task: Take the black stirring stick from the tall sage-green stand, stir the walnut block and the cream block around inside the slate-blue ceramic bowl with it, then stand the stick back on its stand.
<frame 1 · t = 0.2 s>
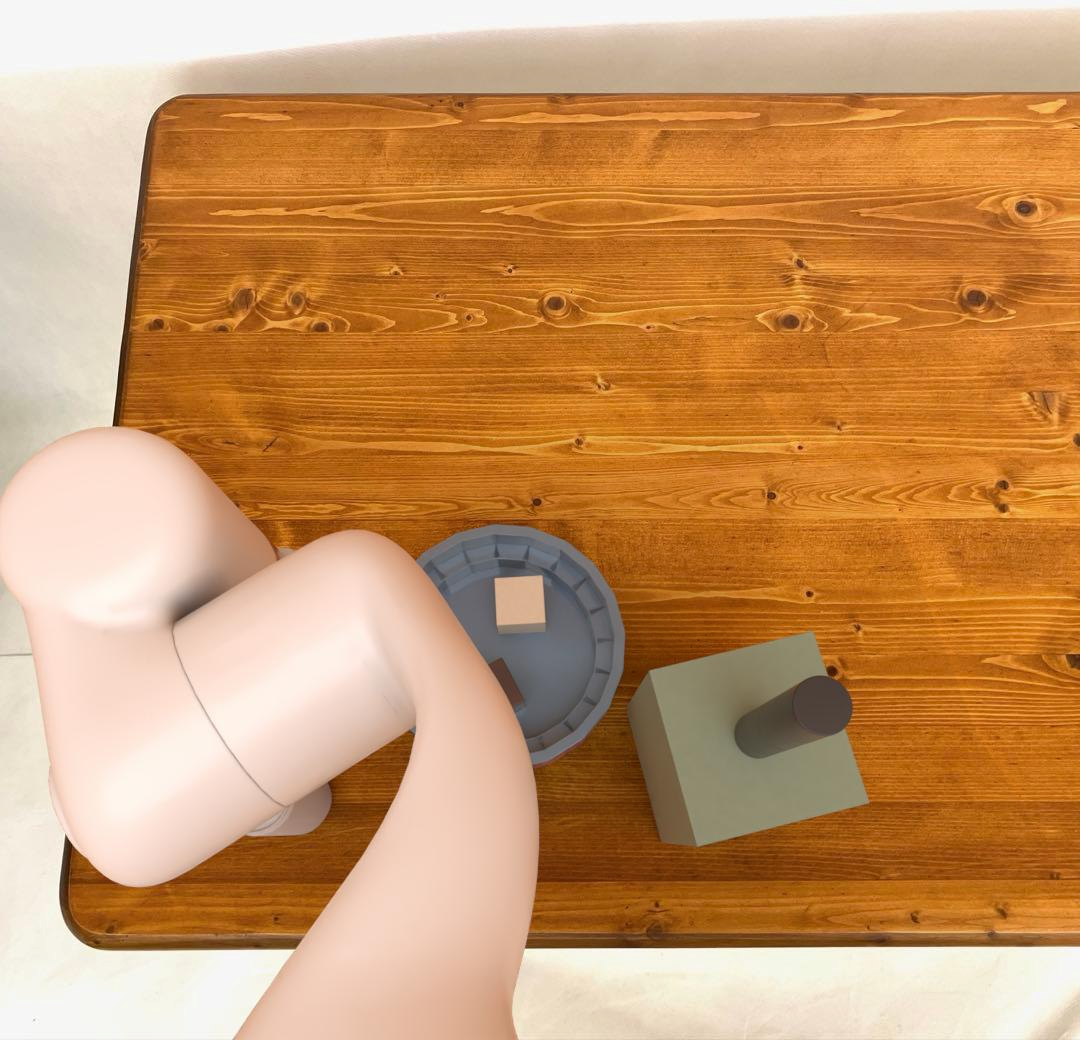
hand: (300, 661, 61), 15 cm above the table, tool pointing down, fingers open, 9 cm apart
chess piece: (431, 826, 72), on the table
stirring stick: (757, 735, 56), point 18 cm above the table, touching stand
walnut block: (493, 697, 74), point 1 cm above the table, touching bowl
beverage can: (301, 800, 72), on the table
cream block: (521, 610, 76), point 1 cm above the table, touching bowl
bowl: (504, 655, 75), on the table
stand: (707, 757, 73), on the table
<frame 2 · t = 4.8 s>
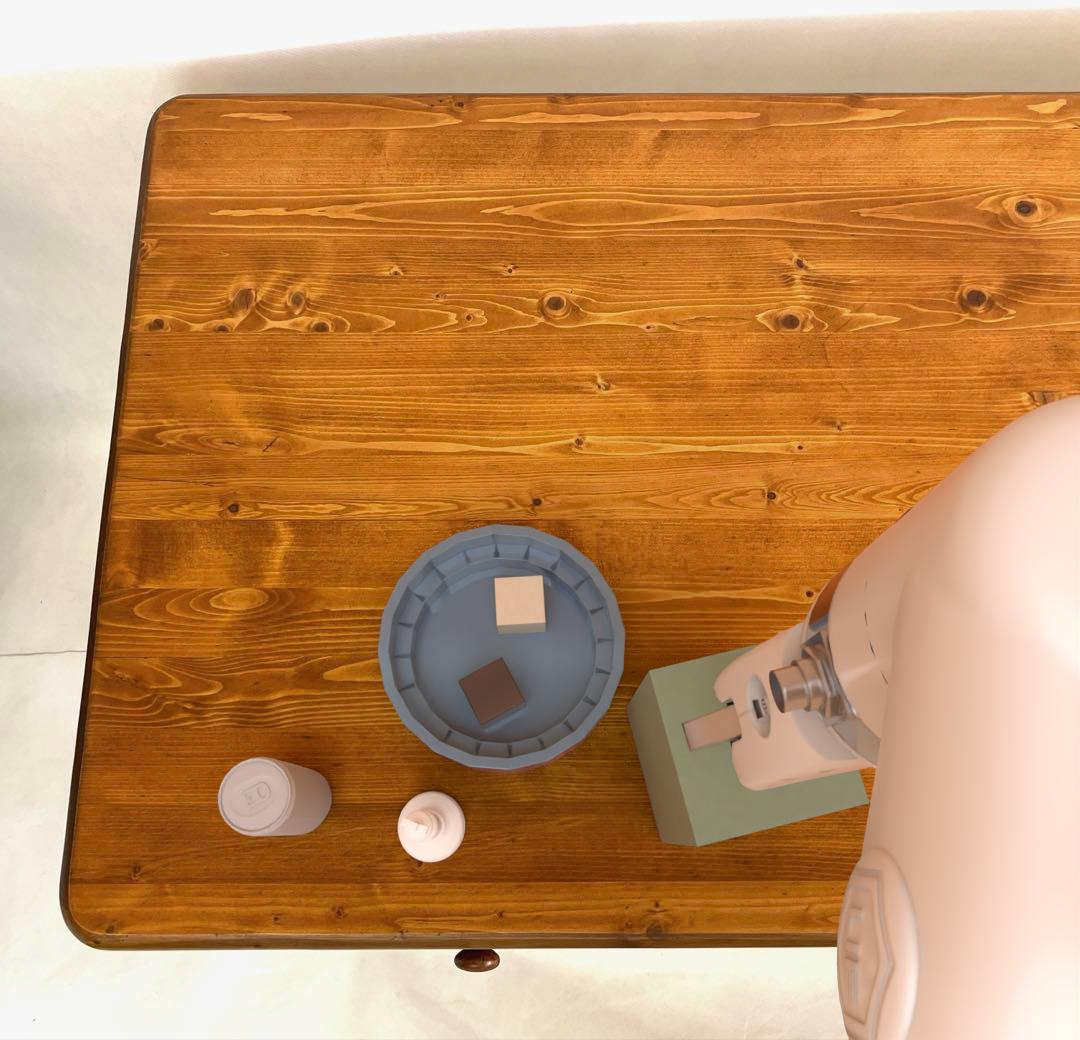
hand: (793, 718, 47), 27 cm above the table, tool pointing down, fingers closed on stirring stick, 2 cm apart
stirring stick: (757, 735, 56), point 18 cm above the table, touching gripper, stand
everything else where it was.
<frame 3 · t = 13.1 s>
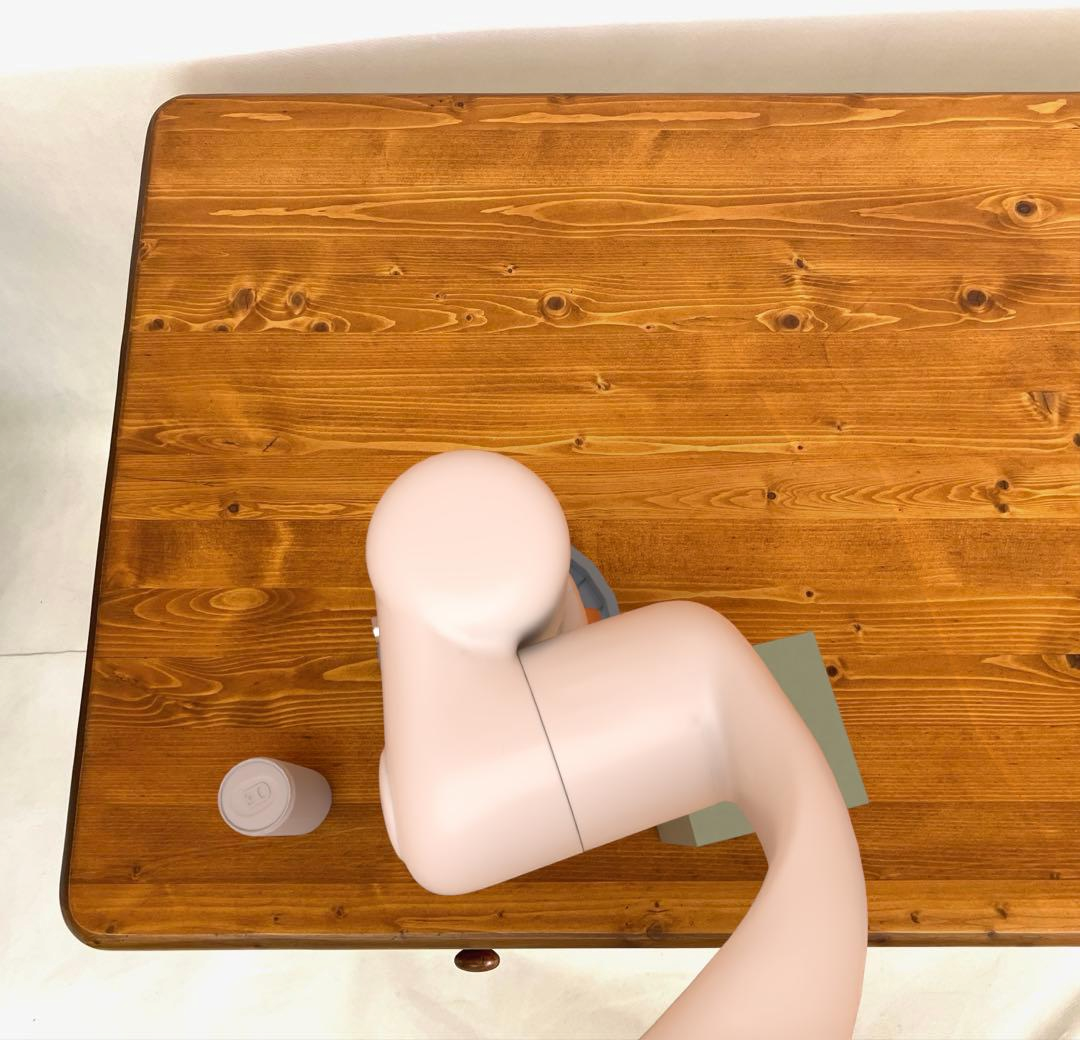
hand: (500, 662, 63), 12 cm above the table, tool pointing down, fingers closed on stirring stick, 2 cm apart
stirring stick: (501, 665, 72), point 3 cm above the table, tilted 6°, touching gripper, walnut block
walnut block: (517, 708, 73), point 1 cm above the table, tilted 6°, touching bowl, stirring stick
everything else where it was.
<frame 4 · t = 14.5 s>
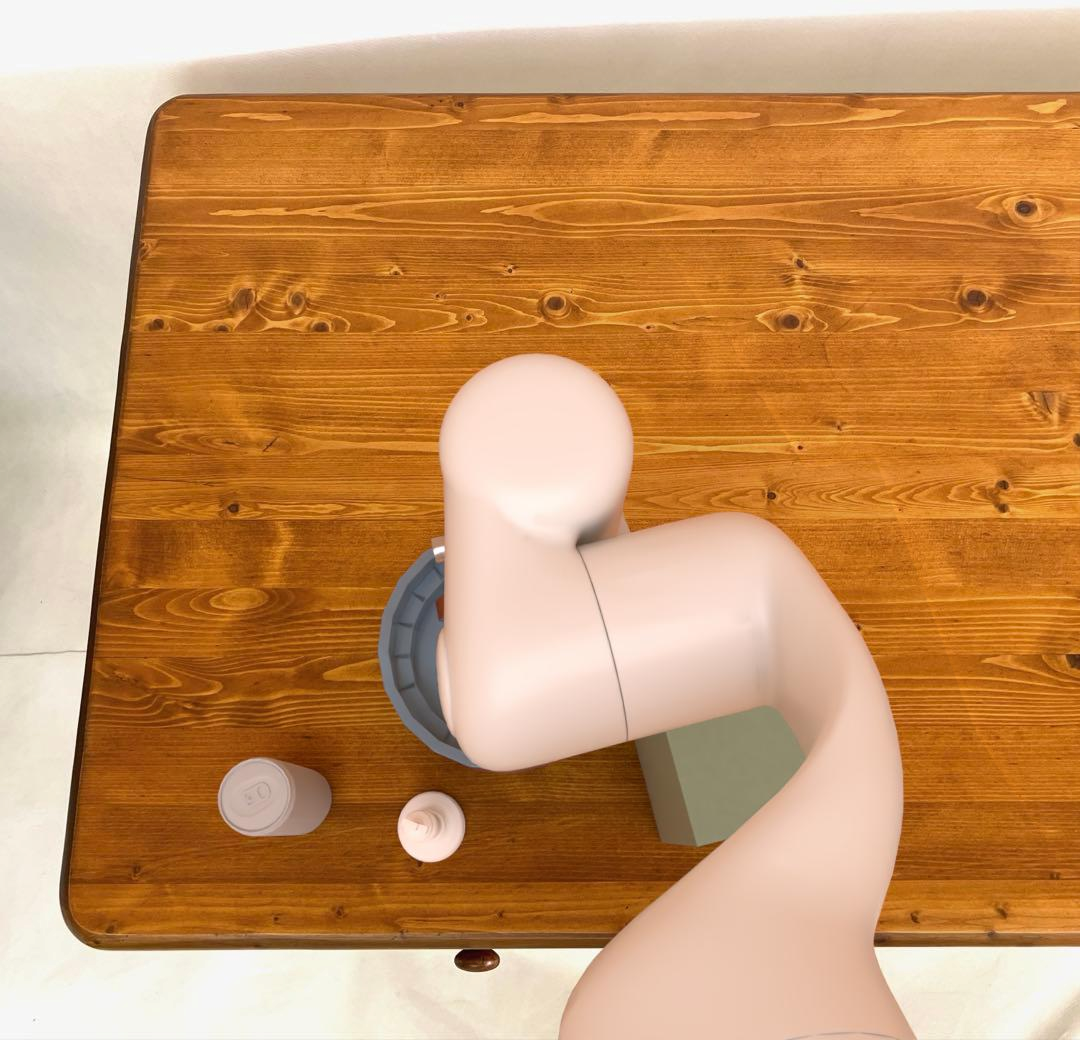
hand: (542, 611, 65), 11 cm above the table, tool pointing down, fingers closed on stirring stick, 2 cm apart
stirring stick: (541, 631, 73), point 3 cm above the table, touching cream block, gripper
walnut block: (530, 703, 73), point 1 cm above the table, touching bowl
cream block: (520, 599, 76), point 1 cm above the table, touching bowl, stirring stick
everything else where it was.
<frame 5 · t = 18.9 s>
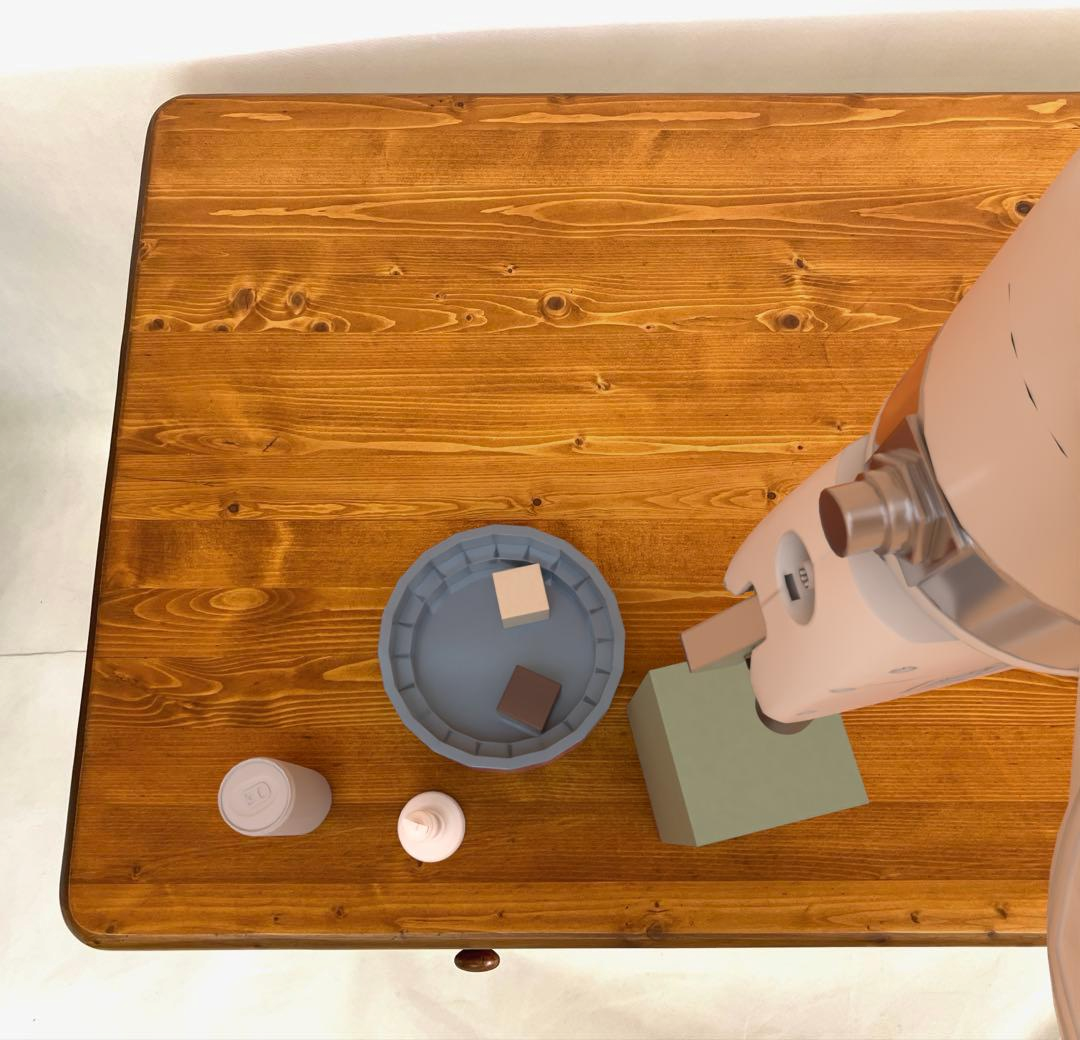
hand: (826, 644, 36), 39 cm above the table, tool pointing down, fingers closed on stirring stick, 2 cm apart
stirring stick: (784, 705, 44), point 31 cm above the table, tilted 7°, touching gripper
cream block: (521, 601, 76), point 1 cm above the table, touching bowl
everything else where it was.
when the fingers open (27 cm above the table, at t = 22.7 s): stirring stick stays where it is, resting on stand.
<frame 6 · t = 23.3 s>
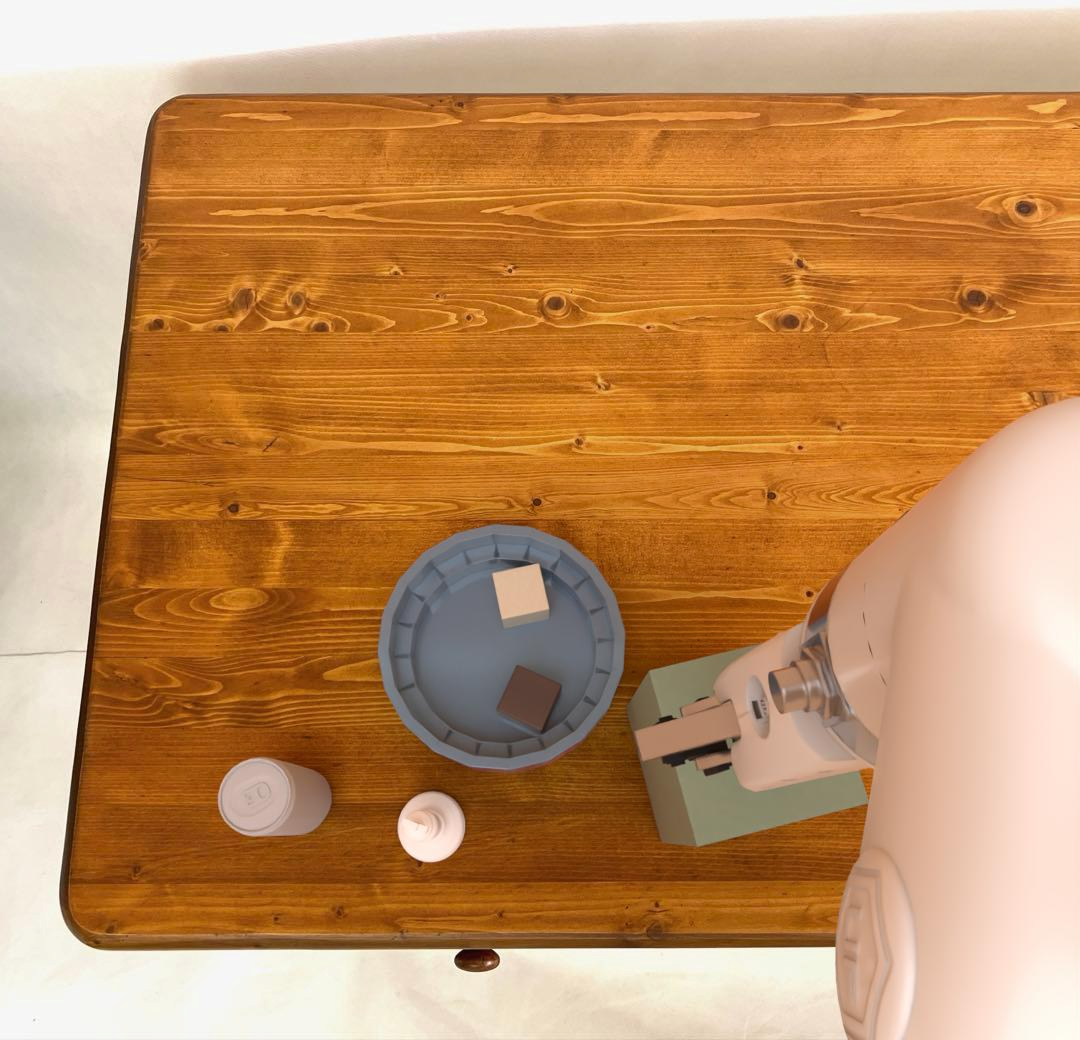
hand: (797, 717, 46), 28 cm above the table, tool pointing down, fingers open, 9 cm apart
stirring stick: (763, 755, 55), point 18 cm above the table, touching stand
everything else where it was.
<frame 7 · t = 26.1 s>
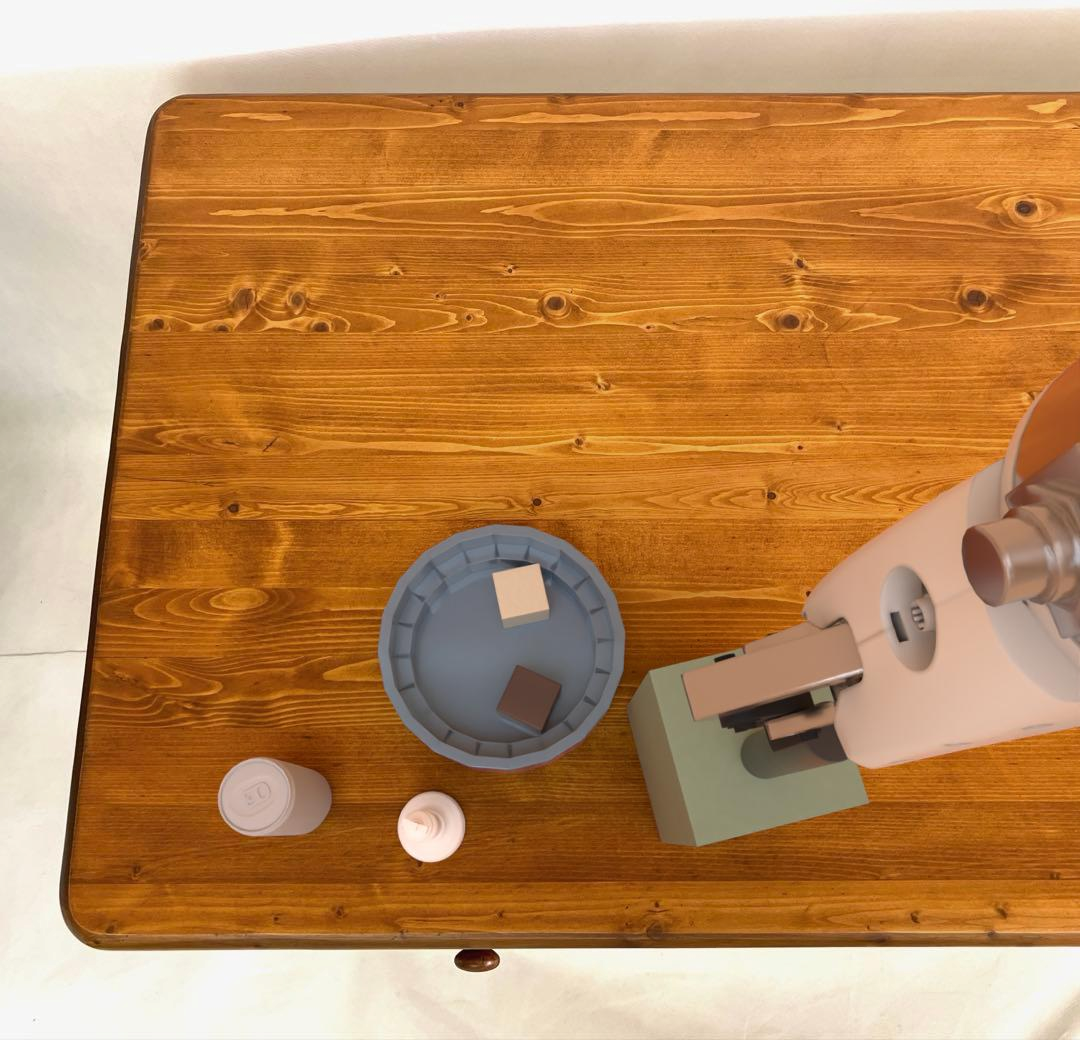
hand: (905, 667, 32), 42 cm above the table, tool pointing down, fingers open, 9 cm apart
nothing on the table moved.
at the end: walnut block moved 2.8 cm from its start; walnut block inside the target area in the bowl (4.2 cm from its centre), point 0.6 cm above the bowl's base; stirring stick tilted 0° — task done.
